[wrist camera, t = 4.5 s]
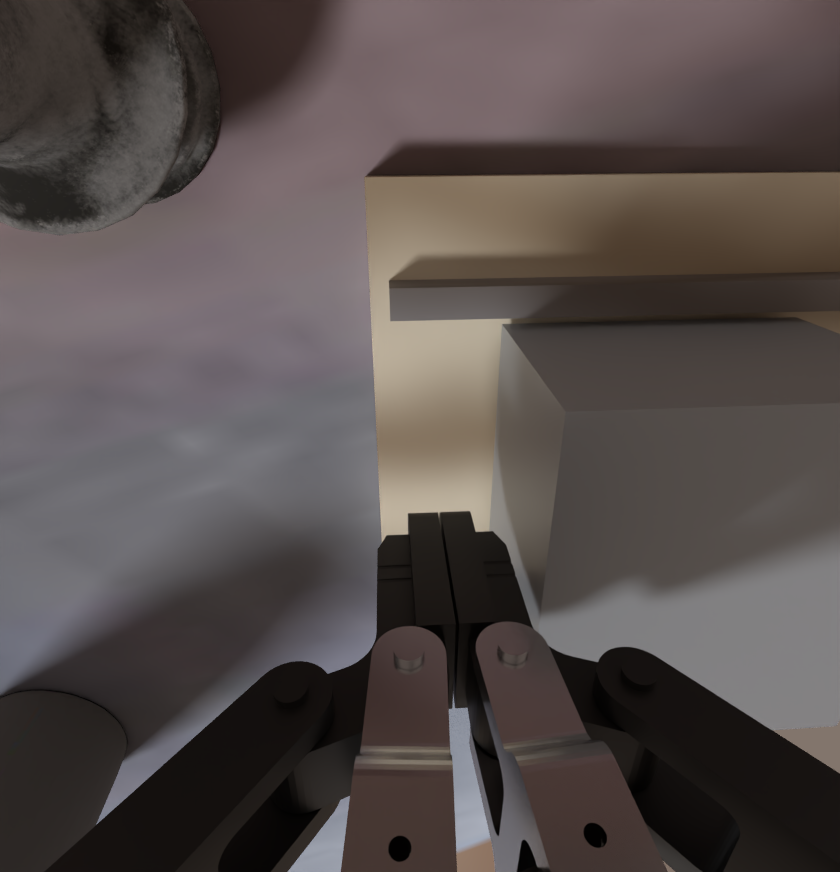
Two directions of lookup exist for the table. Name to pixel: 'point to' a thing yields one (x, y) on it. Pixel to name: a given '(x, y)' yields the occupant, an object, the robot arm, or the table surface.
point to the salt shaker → (100, 109)
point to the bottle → (52, 774)
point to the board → (561, 291)
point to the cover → (680, 500)
